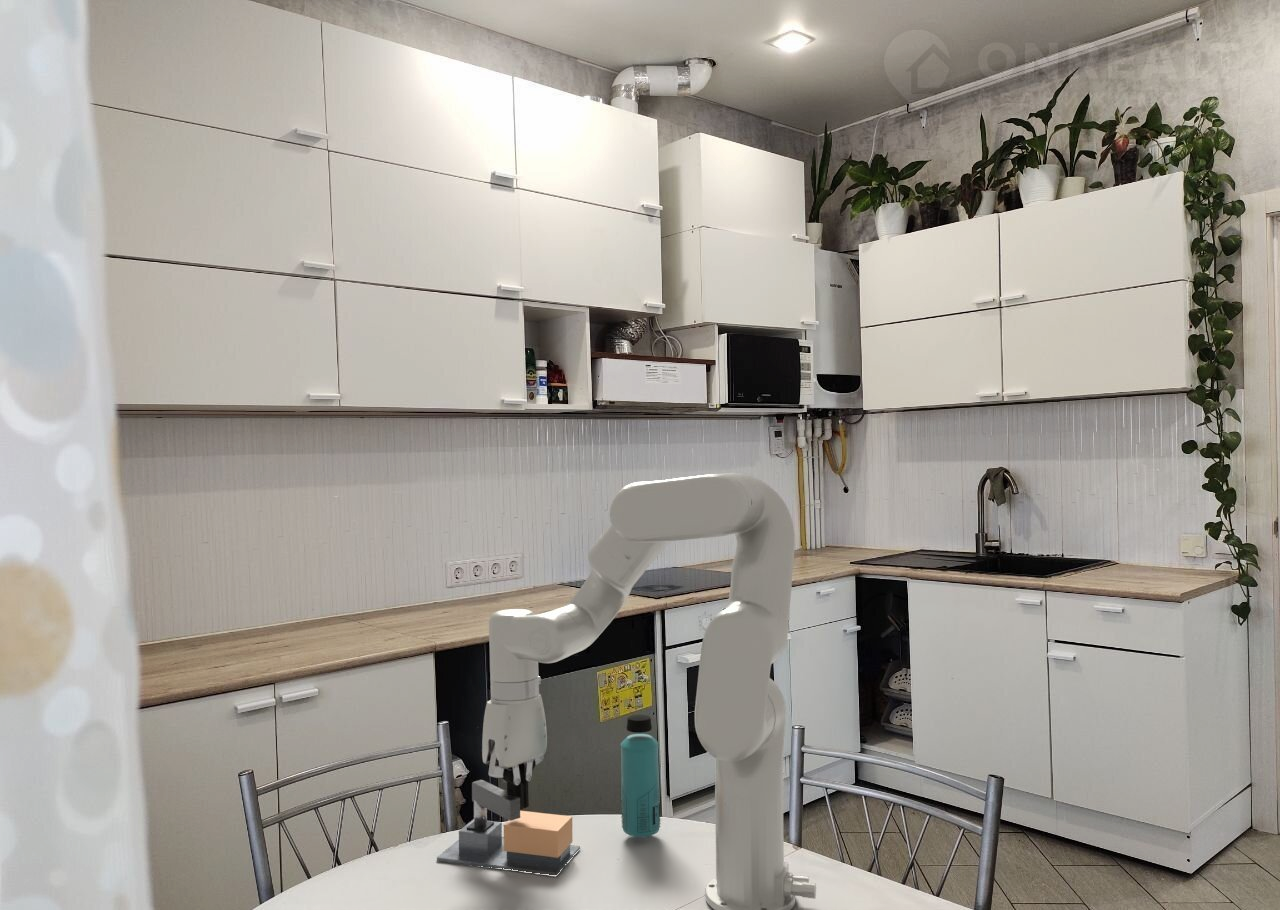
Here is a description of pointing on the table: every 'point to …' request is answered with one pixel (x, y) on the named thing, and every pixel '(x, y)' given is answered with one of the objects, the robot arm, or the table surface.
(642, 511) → the robot arm
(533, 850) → the cover
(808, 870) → the table surface
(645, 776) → the beverage bottle
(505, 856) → the latch base
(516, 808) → the t key
